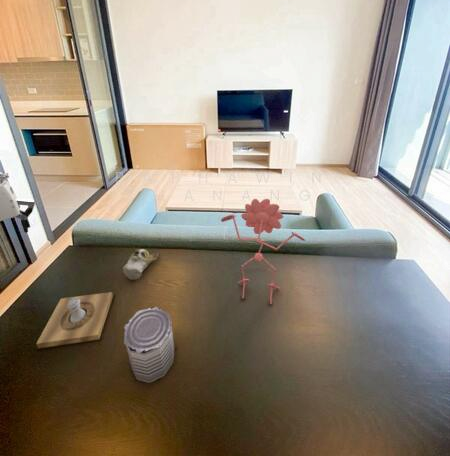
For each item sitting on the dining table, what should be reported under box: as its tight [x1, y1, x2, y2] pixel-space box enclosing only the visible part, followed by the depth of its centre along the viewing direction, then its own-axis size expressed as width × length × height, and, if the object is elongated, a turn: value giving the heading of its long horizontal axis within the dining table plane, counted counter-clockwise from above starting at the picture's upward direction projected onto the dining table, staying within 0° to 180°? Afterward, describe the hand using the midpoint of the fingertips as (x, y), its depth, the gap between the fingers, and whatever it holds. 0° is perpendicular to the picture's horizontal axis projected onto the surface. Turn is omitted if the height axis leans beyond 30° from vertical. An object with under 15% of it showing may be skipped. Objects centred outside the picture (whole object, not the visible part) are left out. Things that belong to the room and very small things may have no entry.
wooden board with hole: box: [35, 291, 114, 350], centre depth 75 cm, size 16×14×2 cm
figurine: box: [220, 198, 306, 305], centre depth 80 cm, size 15×26×35 cm, turn 77°
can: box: [123, 306, 175, 384], centre depth 63 cm, size 11×11×12 cm
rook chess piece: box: [67, 296, 87, 324], centre depth 73 cm, size 4×4×8 cm
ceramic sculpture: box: [122, 248, 161, 281], centre depth 92 cm, size 11×9×15 cm
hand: (5, 237), depth 68 cm, fingers open, 9 cm apart
